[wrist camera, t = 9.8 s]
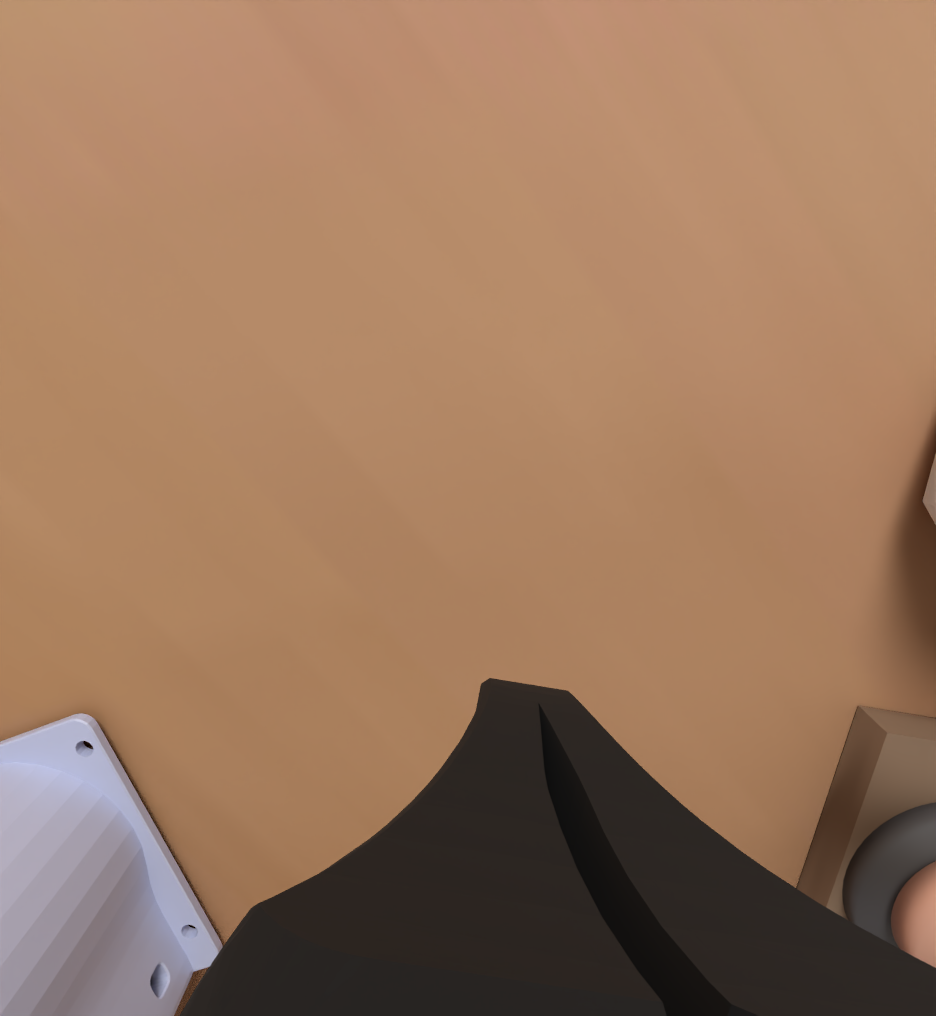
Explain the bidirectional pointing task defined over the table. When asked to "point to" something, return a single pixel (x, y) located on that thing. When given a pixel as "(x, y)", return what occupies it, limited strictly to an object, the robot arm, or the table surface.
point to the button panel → (875, 819)
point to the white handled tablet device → (931, 493)
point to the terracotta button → (917, 916)
